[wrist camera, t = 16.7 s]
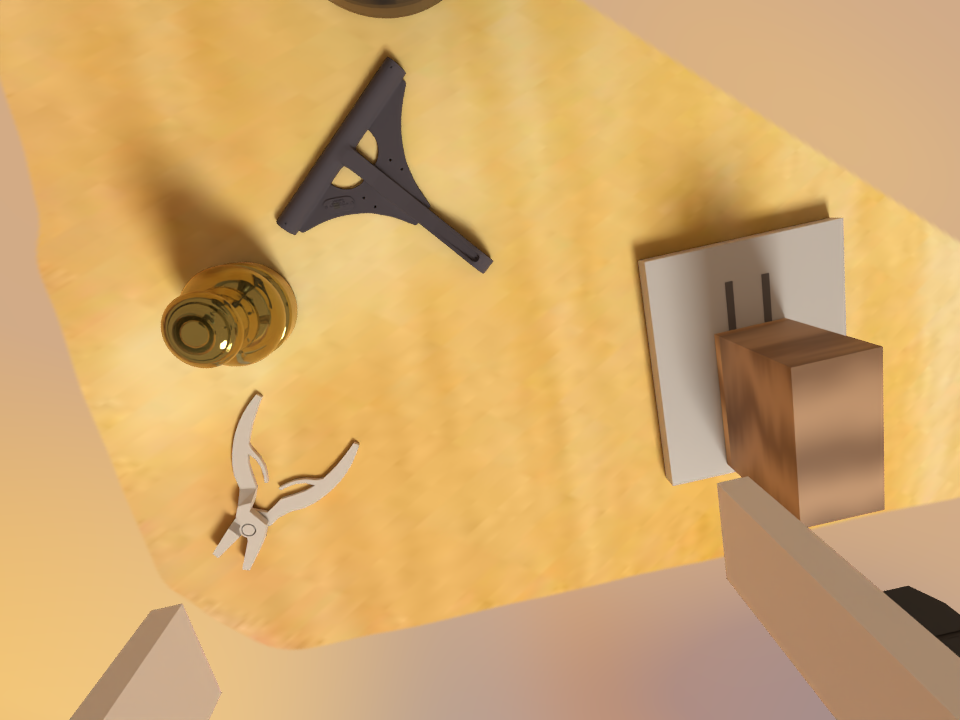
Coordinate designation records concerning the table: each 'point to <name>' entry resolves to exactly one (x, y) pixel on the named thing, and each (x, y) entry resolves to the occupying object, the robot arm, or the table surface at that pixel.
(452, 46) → the table surface
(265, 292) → the brass door knob
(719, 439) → the board
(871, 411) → the block
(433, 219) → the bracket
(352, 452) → the pliers
